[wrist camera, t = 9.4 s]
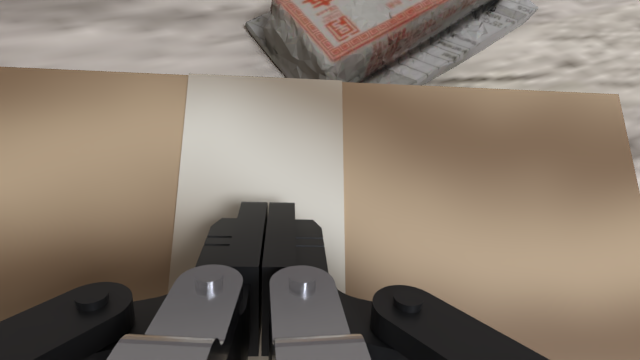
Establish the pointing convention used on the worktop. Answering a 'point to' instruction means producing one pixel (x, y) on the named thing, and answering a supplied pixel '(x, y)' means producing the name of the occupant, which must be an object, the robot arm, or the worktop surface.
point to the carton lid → (331, 192)
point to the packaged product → (382, 36)
